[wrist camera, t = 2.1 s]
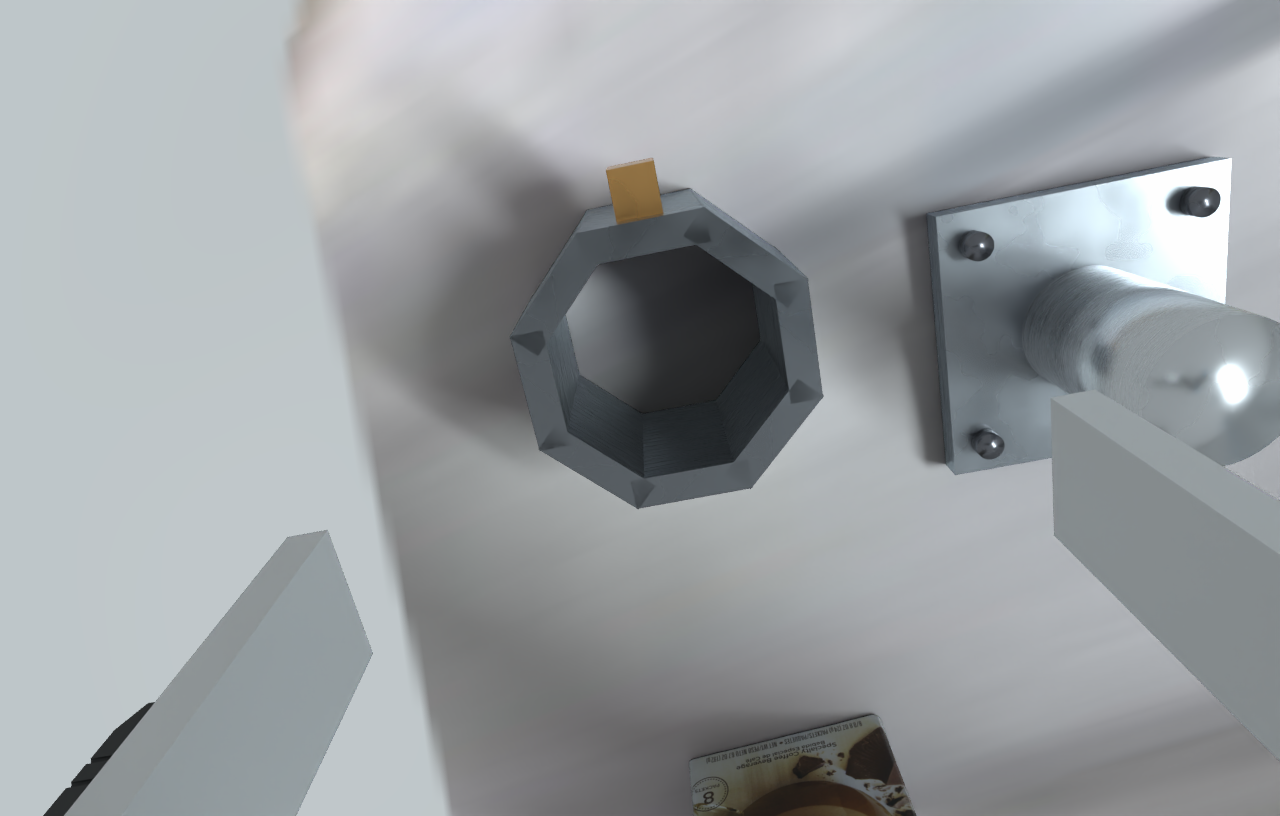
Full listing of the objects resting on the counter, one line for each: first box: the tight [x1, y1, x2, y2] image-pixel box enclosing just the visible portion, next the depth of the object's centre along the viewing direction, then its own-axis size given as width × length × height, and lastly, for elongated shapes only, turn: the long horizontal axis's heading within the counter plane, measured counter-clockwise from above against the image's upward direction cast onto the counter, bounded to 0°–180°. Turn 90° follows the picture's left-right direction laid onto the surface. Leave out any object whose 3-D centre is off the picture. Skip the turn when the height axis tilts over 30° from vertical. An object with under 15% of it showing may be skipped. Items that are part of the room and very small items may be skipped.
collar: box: [510, 158, 823, 509], centre depth 28 cm, size 10×9×6 cm
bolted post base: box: [926, 157, 1280, 475], centre depth 27 cm, size 10×10×8 cm
